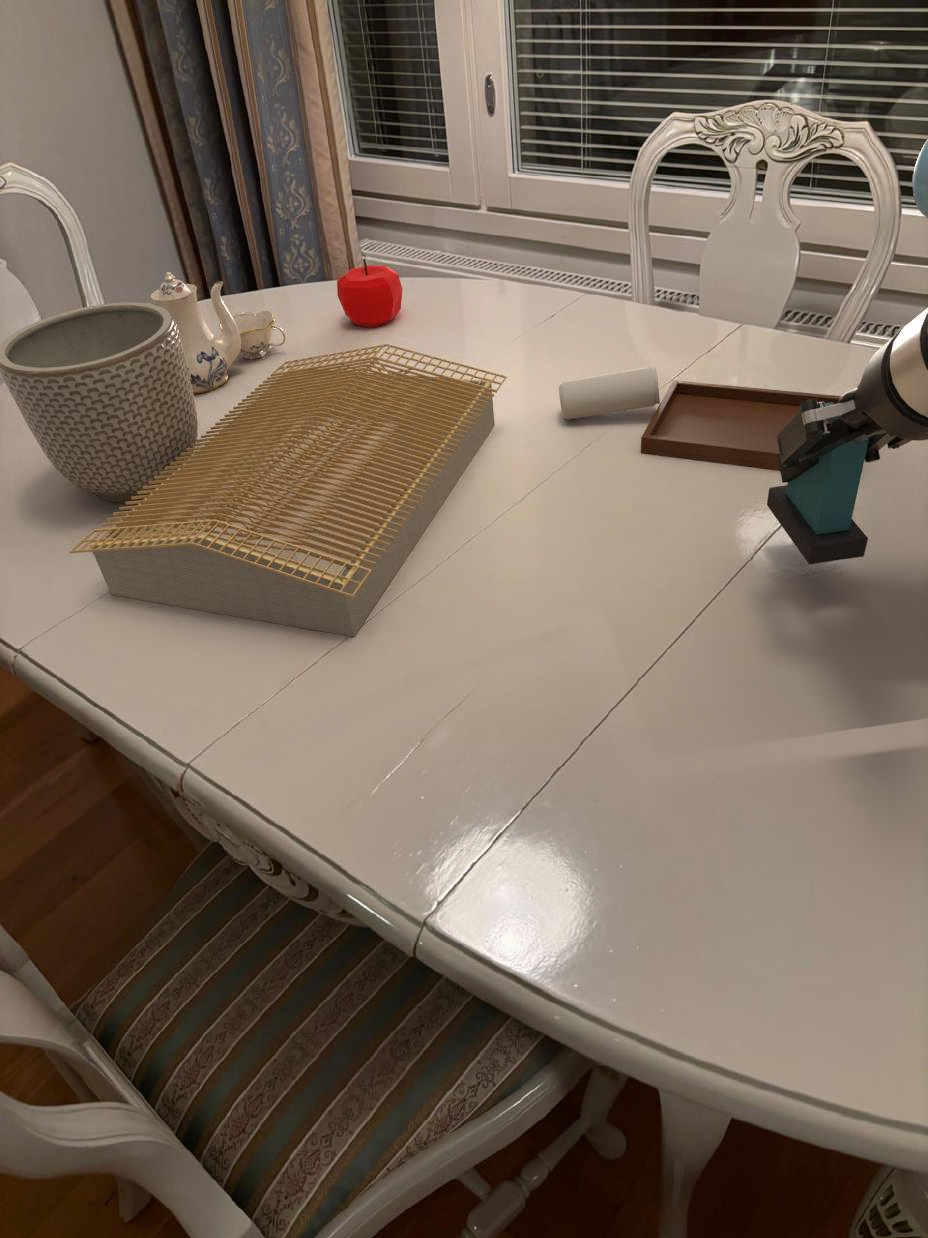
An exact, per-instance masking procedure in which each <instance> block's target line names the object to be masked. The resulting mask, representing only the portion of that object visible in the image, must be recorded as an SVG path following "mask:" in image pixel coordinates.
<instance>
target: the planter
mask: <svg viewBox="0 0 928 1238" xmlns="http://www.w3.org/2000/svg"><path fill="white" fill-rule="evenodd" d="M148 303H149V302H137V301H136V302H133V301H131V302H129V301H127V302H126V301H125V302H110V303H102V304H96V305H89V306H85V307H79V308H76V309H71V310H68V311H64V312H60V313H56V314H55V315H54V314H53V315H50V316H49V317H46V318H43V319H40V320H38V321H36V322H33V323H31V324H28V325H27V326H25V327H23V328H21V329H19V330H17V331H16V332H14V333H13V334H11V335H10V336H9V337H7V338H6V339H4V341H3V342H1V344H0V375H1V378H2V380H3V381H4V384H5V386H6V388H7V390H8V391H9V393H10V395H11V397H12V398H13V400H14V402H15V404H16V406H17V408H18V410H19V412H20V413H21V415H22V417H23V419H24V421H25V424H26V426H27V427H28V428H29V430H30V432H31V433H32V435H33V437H34V439H35V440H36V443H37V444H38V446H39V447H40V449H41V450H42V452H43V453H44V455H45V456H46V458H47V459H48V462H50V464H51V465H52V466H53V467H54V468H55V469H56V470H57V472H59V474H60V475H61V476H62V477H63V478H65V479H66V480H67V481H69V482H70V483H72V484H74V485H75V486H77V487H79V488H81V489H83V490H86V491H89V492H93V493H96V494H97V495H98V496H100V497H101V498H103V499H104V500H106V501H109V502H112V503H119V504H121V503H123V504H124V503H125V502H130V501H140V500H144V499H145V498H142V499H131V497H133V496H143V495H149V494H151V493H146V494H137V492H138V491H147V490H155V489H156V488H151V489H143V486H152V485H161V484H162V483H156V484H149V483H148V482H149V481H158V480H166V479H167V478H162V479H154V477H155V476H164V475H172V474H173V473H169V474H160V473H159V472H162V471H171V470H177V469H178V468H176V469H167V470H166V469H165V467H169V466H178V465H183V464H184V463H183V464H175V465H171V464H170V462H177V461H185V460H188V459H183V460H176V458H177V457H185V456H192V455H184V456H181V453H186V452H194V450H193V451H186V449H187V448H195V447H196V446H194V447H191V444H197V442H196V440H198V433H199V431H198V430H199V421H198V411H197V406H196V405H197V404H196V400H195V394H193V390H192V385H191V380H190V376H189V372H188V368H187V363H186V359H185V355H184V351H183V347H182V342H181V338H180V335H179V331H178V328H177V325H176V323H175V320H174V318H173V316H172V314H171V313H170V312H169V311H168V310H166V309H164V308H162V307H160V306H157V305H156V304H154V303H152V304H148ZM153 304H154V305H153Z"/></svg>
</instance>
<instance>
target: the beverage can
mask: <svg viewBox="0 0 928 1238" xmlns="http://www.w3.org/2000/svg"><path fill="white" fill-rule="evenodd" d="M558 395H559V402H560V410H561V415H562V418H564V419H566V420H568V421H569V420H576V419H580V418H581V419H582V418H587V417H592V416H593V417H594V416H599V415H604V414H612V413H619V412H625V411H631V410H638V409H644V408H649V407H654V406H656V404H657V405H660V403H661V401H660V399H661V398H660V387H659V380H658V371H657V367H656V366H653V367H652V366H643V367H639V368H634V369H626V370H622V371H616V372H615V371H614V372H610V373H605V374H599V375H592V376H586V377H581V378H575V379H569V380H564V381H562V382H561V383H560V384H559V385H558Z"/></svg>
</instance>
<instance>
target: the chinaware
mask: <svg viewBox="0 0 928 1238" xmlns="http://www.w3.org/2000/svg"><path fill="white" fill-rule="evenodd" d="M163 280H164V281H163V282H162V283H161V284H160V286H159V289H156V290H155V291H154V292H152V293H151V294H150V296H149V297H150V298H151V299H152V301H153V302H154V303H152V302H147V303H148V304H153V305H157V306H160V307H162V308H164V309H166V310H168V311H169V312H170V313H171V314H172V316H173V318H174V320H175V323H176V325H177V328H178V331H179V335H180V338H181V342H182V347H183V351H184V355H185V359H186V363H187V368H188V372H189V376H190V380H191V385H192V390H193V395H196V394H203V393H207V392H210V391H213V390H216V389H218V388H220V387H221V386H222V387H223V385H224V384H226V383H227V382H228V380H229V373H228V372H227V371H228V370H229V368H230V367H231V365H232V364H233V363H234V361H235V360H236V359H237V357H238V356H239V354H240V352H241V353H244V355H243V358H245V359H248V360H254V359H259V358H264V356H265V355H266V354H267V351H268V352H271V351H273V347H274V346H276V347H281V346H283V345H284V344H285V342H286V338H287V337H286V333H285V331H284V329H283V328H282V327H281V326H278V325H275V324H276V323H275V322H276V321H275V319H276V318H274V317H273V314H272V313H271V312H269V311H267V310H265V311H264V310H263V311H261V312H258V313H253V312H250V311H245V312H244V311H241V312H239V313H236V314H235V315H234V316H233V315H232V314H231V312H230V311H229V308H228V307H227V306H226V303H225V302H224V300H223V299H222V296H221V289H222V287H223V285H224V281H221V280H220V281H216V282H215V283H214V284H213V286H212V287H211V290H210V301H211V304H212V307H213V309H214V312H215V314H216V317H217V319H218V321H219V324H218V326H219V329H220V331H221V333H220V335H214V334H213V333H212V332H211V330H210V328H209V326H208V325H207V323H206V321H205V319H204V317H203V315H202V312H201V310H200V307H199V303H198V298H197V290H198V287H197V286H196V285H195V284H191V283H184V282H183V281H182V280H180V279H178V278H176V276H175V275H173V274H172V272H170V271H166V273H165V276H164V278H163ZM276 329H278V330H279V331H280V332H281V334H282V336H283V339H282V341H281V342H280V343H272V342H271V341H272V340H271V339H272V336H273V332H275V331H276ZM265 349H266V350H265Z"/></svg>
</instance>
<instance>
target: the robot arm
mask: <svg viewBox="0 0 928 1238" xmlns="http://www.w3.org/2000/svg"><path fill="white" fill-rule="evenodd" d="M911 182H912V184H911V185H912V193H913V194H912V196H913V200H914V203H915V206H916V207H917V209H918V211H919V212H920V214H921V215H922V216H924V217H925V218H927V219H928V138H927V139H926V140H925V142H924V144H923V146H922V148H921V150H920V152H919V153H918V156H917V159H916V161H915V165H914V169H913V174H912V181H911ZM840 396H841V397H840V399H839V402H838V404H834V405H830V406H826V407H825V402H818V403H817V400H816V399H808V400H805V401H804V402H802V403H800V408H801V411H800V412H799V413H798V414H797V415H796V416H795V417H794V418H793V419H792V420H791V421H790V422H789V423H788V424H787V425H786V426H785V427H784V428H783V430H782V431H781V432H780V433H779V434H778V435H777V436H776V437H777V442H778V448H779V454H777V457H778V462H779V467H780V470H779V473H780V478H781V483H783V484H785V483H788V482H791V481H792V480H794V479H795V478H797V477H798V476H800V475H801V474H803V473H804V472H806V471H807V470H809V469H810V468H812V467H813V466H815V465H816V464H818V463H819V461H818V458H819V457H821V456H822V455H824V454H826V453H828V452H830V451H832V450H834V449H836V448H837V447H839V446H841V445H843V444H845V443H851V442H860V441H863V440H865V439H867V438H868V439H869V441H868V446H867V451H866V455H865V460H864V463H873V462H877V461H879V460H881V455H880V450H881V449H882V448H883V447H885V446H886V445H887V449H893V450H895V449H896V450H897V449H899V448H900V447H902V446H904V445H906V444H908V443H910V442H912V441H928V308H926V309H925V310H924V311H922V312H921V313H920V314H919V315H917V316H916V317H915V318H913V319H912V320H911V321H910V322H909V323H908V324H906V325H905V326H904V327H903V328H902V329H901V330H900V331H899V332H897V334H895V335H894V336H893V337H891V338H890V339H889V340H888V341H886V343H885V344H883V345H882V346H881V347H880V348H878V350H877V351H875V352H874V354H873V355H872V356H871V357H870V359H869V361H868V362H867V364H866V366H865V367H864V371H863V374H862V376H861V379H860V381H859V384H858V385H857V386H856V387H855V388H853V389H851V390H848V391H846V392H844V393H843V394H842V395H840Z"/></svg>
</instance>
